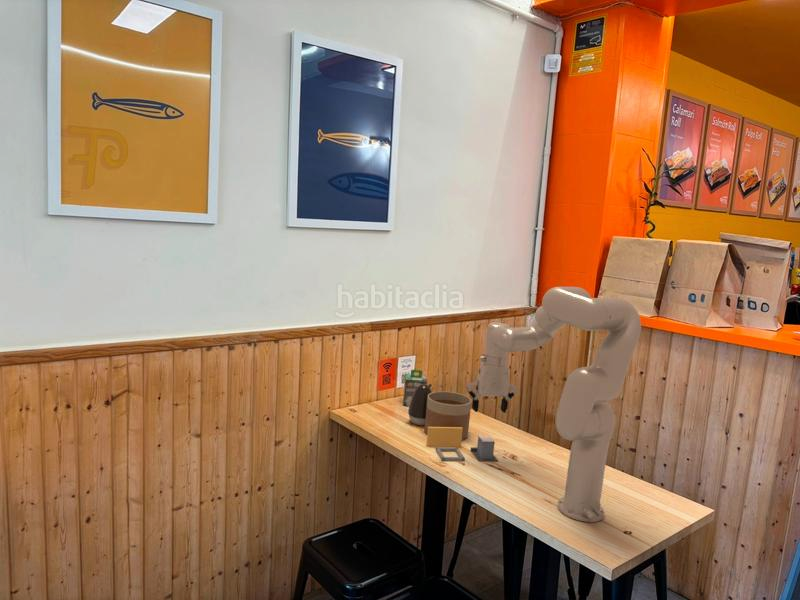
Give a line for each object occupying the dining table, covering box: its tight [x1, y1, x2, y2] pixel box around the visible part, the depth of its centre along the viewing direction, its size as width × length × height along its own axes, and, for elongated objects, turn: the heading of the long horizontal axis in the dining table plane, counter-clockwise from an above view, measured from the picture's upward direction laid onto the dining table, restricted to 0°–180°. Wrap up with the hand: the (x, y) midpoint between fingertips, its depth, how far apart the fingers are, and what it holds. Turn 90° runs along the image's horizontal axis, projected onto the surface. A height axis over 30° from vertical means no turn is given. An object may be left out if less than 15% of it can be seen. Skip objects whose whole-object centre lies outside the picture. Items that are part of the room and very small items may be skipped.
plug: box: [476, 435, 496, 459], centre depth 194 cm, size 5×4×6 cm
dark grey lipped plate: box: [470, 446, 499, 463], centre depth 194 cm, size 9×7×2 cm
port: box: [426, 427, 466, 462], centre depth 194 cm, size 13×12×7 cm
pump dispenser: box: [407, 383, 433, 426], centre depth 221 cm, size 10×10×15 cm
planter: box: [424, 390, 473, 441], centre depth 211 cm, size 16×16×14 cm
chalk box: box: [402, 369, 428, 407], centre depth 244 cm, size 9×9×15 cm
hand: (489, 411), depth 192 cm, fingers open, 9 cm apart
